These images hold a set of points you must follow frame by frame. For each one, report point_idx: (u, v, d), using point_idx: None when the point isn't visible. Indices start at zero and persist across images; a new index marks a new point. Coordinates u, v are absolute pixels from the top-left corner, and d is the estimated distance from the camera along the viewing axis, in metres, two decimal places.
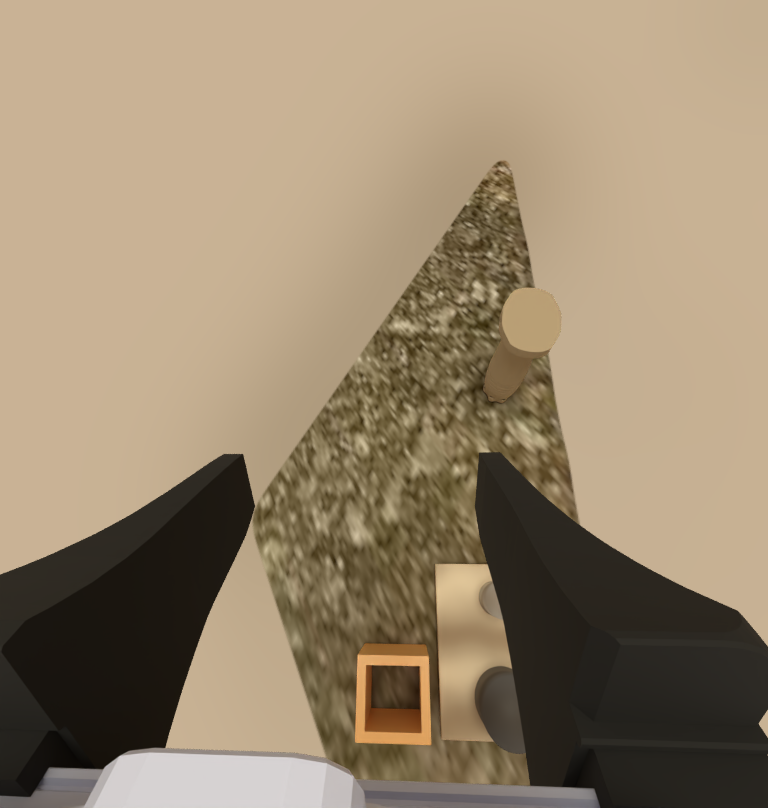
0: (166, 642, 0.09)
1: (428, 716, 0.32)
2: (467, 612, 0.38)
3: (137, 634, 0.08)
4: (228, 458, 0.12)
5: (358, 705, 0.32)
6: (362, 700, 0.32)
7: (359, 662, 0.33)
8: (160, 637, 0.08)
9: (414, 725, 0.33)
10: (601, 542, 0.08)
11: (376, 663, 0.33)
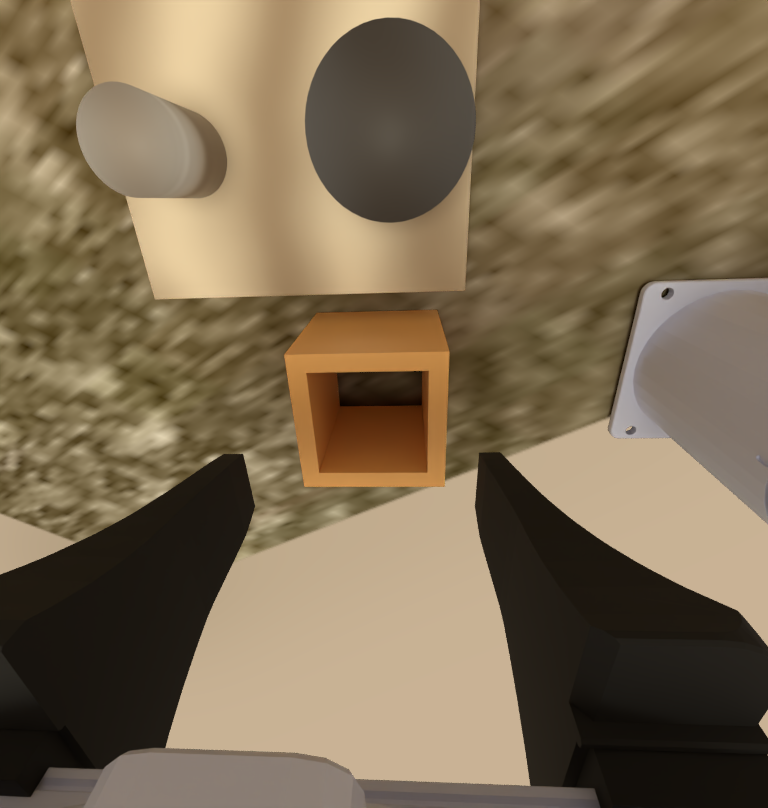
0: (166, 642, 0.09)
1: (398, 356, 0.14)
2: (233, 228, 0.17)
3: (137, 634, 0.08)
4: (228, 458, 0.12)
5: (386, 483, 0.17)
6: (378, 476, 0.17)
7: (316, 483, 0.17)
8: (160, 637, 0.08)
9: None
10: (601, 542, 0.08)
11: (314, 455, 0.16)
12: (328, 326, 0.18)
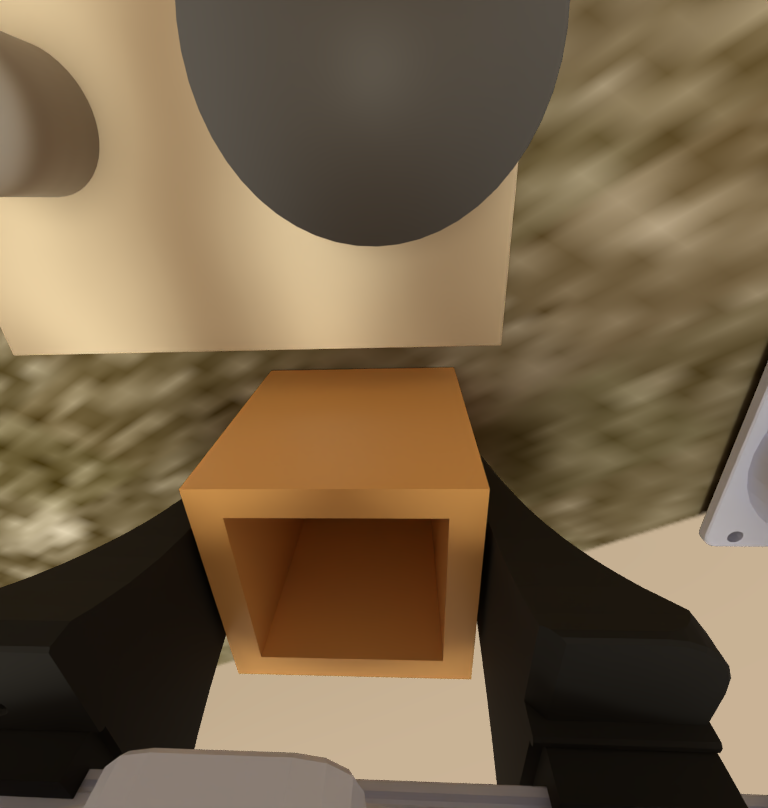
0: (195, 643, 0.09)
1: (391, 495, 0.08)
2: (122, 246, 0.10)
3: (169, 635, 0.08)
4: None
5: (374, 672, 0.10)
6: (359, 664, 0.10)
7: (258, 669, 0.10)
8: (189, 638, 0.08)
9: None
10: (566, 542, 0.08)
11: (250, 633, 0.10)
12: (280, 405, 0.11)
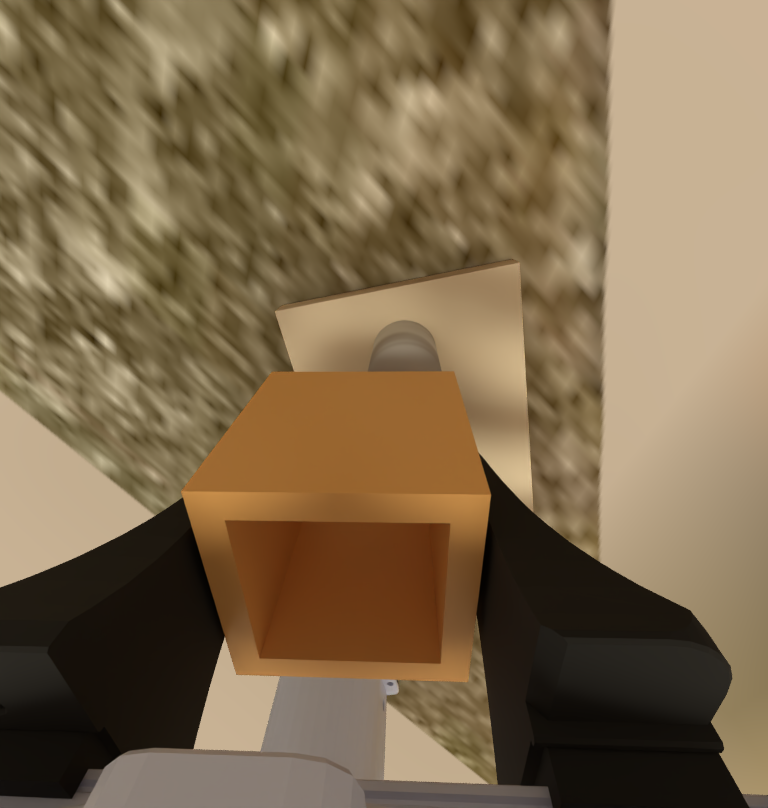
0: (194, 643, 0.09)
1: (394, 500, 0.08)
2: None
3: (168, 635, 0.08)
4: None
5: (372, 674, 0.10)
6: (357, 667, 0.10)
7: (256, 671, 0.10)
8: (189, 638, 0.08)
9: None
10: (567, 542, 0.08)
11: (249, 635, 0.10)
12: (282, 407, 0.11)
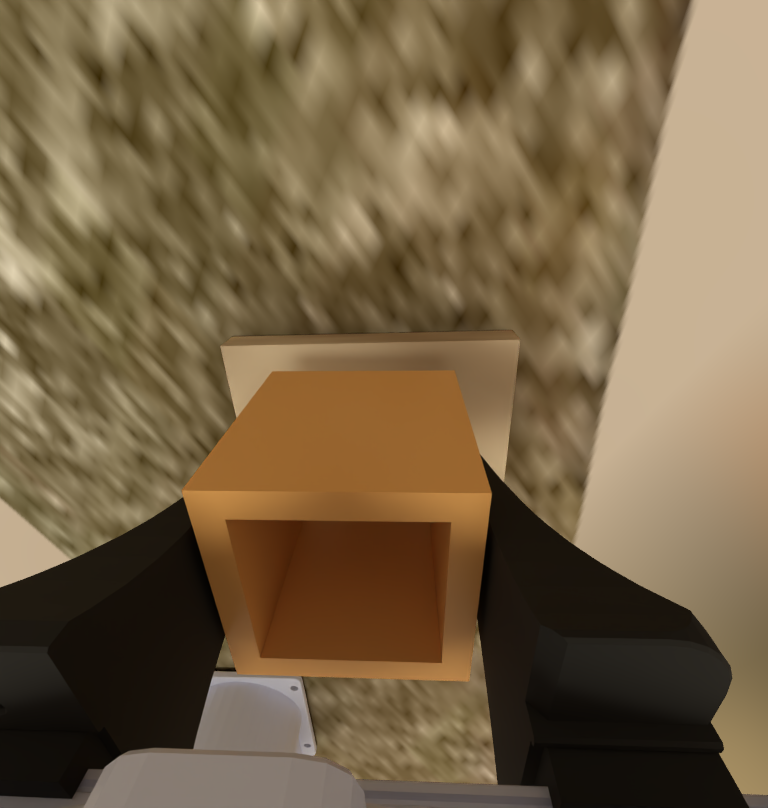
0: (194, 643, 0.09)
1: (394, 498, 0.08)
2: None
3: (168, 635, 0.08)
4: None
5: (373, 674, 0.10)
6: (358, 666, 0.10)
7: (257, 670, 0.10)
8: (188, 638, 0.08)
9: None
10: (567, 542, 0.08)
11: (250, 634, 0.10)
12: (282, 406, 0.11)
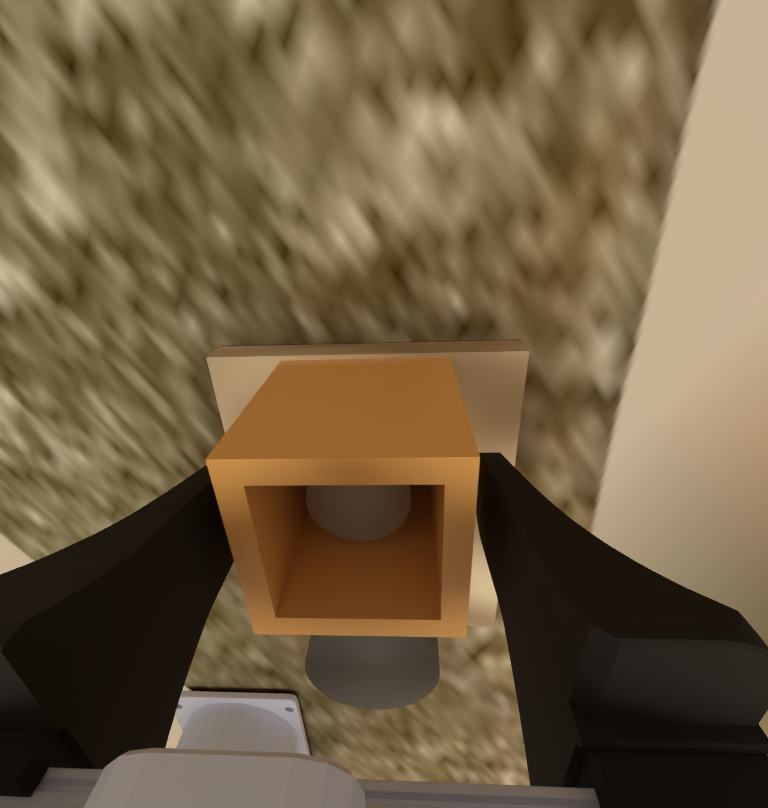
0: (166, 642, 0.09)
1: (393, 463, 0.09)
2: None
3: (137, 634, 0.08)
4: None
5: (378, 631, 0.11)
6: (365, 624, 0.11)
7: (273, 630, 0.11)
8: (160, 637, 0.08)
9: None
10: (601, 542, 0.08)
11: (266, 595, 0.11)
12: (291, 390, 0.12)
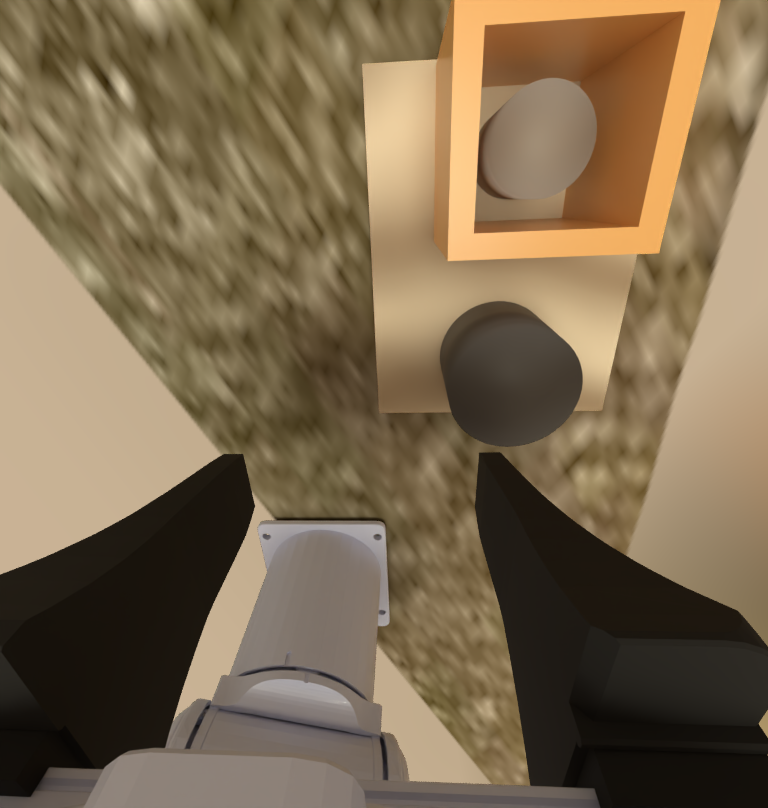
0: (166, 642, 0.09)
1: None
2: None
3: (137, 634, 0.08)
4: (228, 458, 0.12)
5: (572, 249, 0.11)
6: (561, 238, 0.11)
7: (467, 254, 0.12)
8: (160, 637, 0.08)
9: (639, 64, 0.11)
10: (601, 542, 0.08)
11: (471, 199, 0.11)
12: None
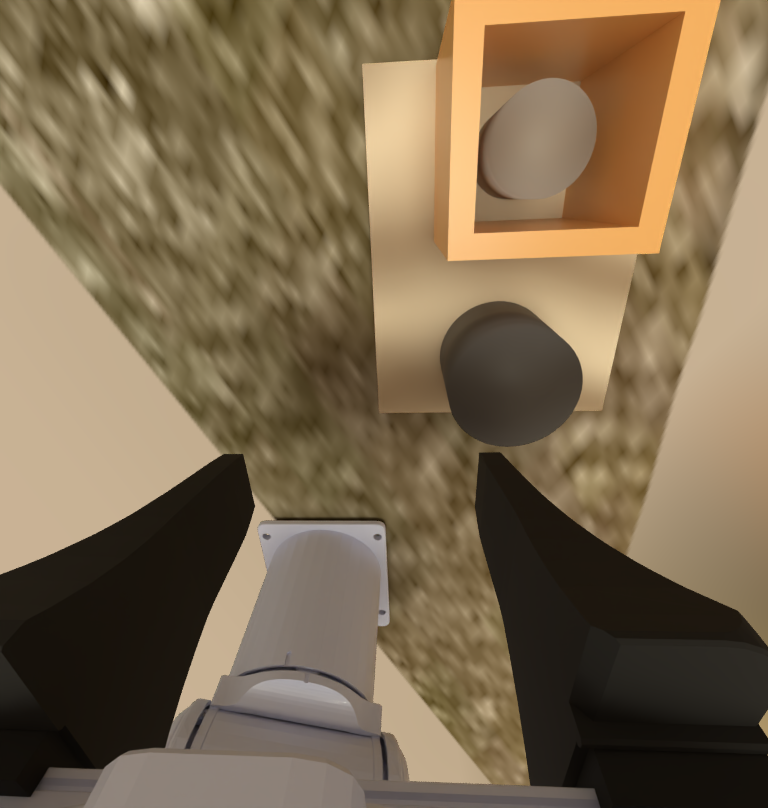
0: (166, 642, 0.09)
1: None
2: None
3: (137, 634, 0.08)
4: (228, 458, 0.12)
5: (572, 249, 0.11)
6: (561, 238, 0.11)
7: (467, 254, 0.12)
8: (160, 637, 0.08)
9: (639, 64, 0.11)
10: (601, 542, 0.08)
11: (471, 199, 0.11)
12: None
